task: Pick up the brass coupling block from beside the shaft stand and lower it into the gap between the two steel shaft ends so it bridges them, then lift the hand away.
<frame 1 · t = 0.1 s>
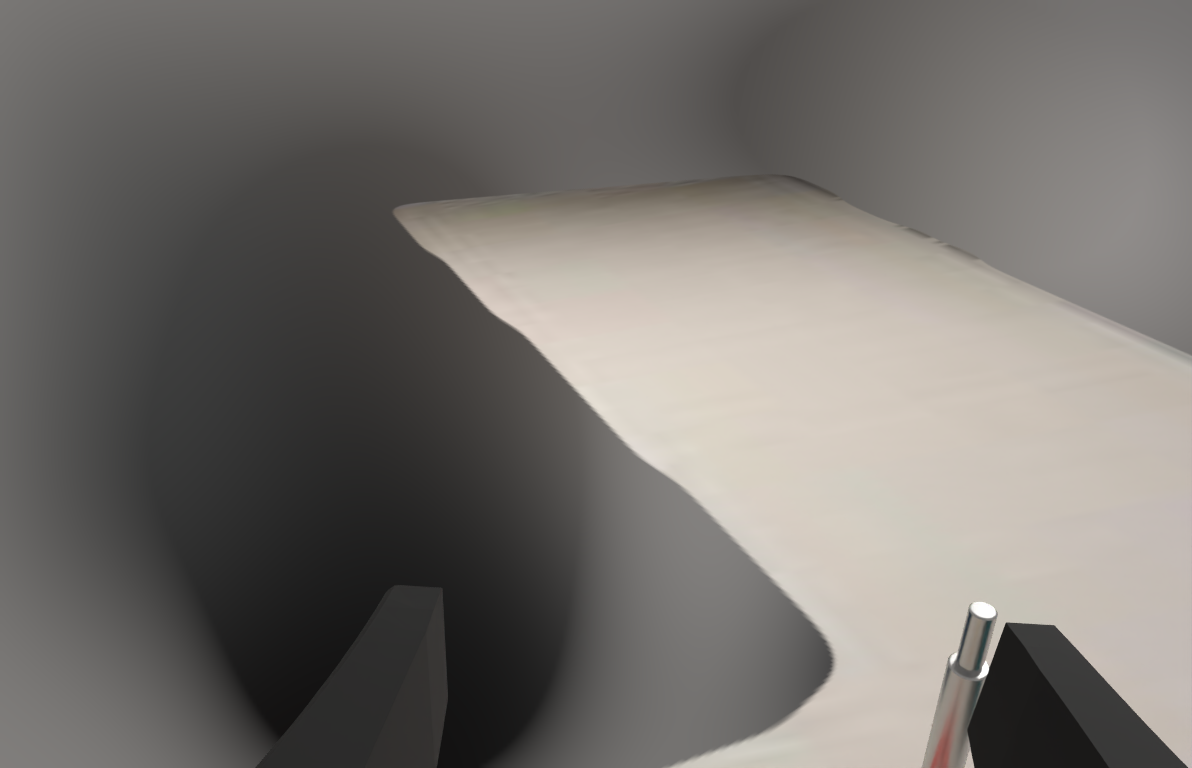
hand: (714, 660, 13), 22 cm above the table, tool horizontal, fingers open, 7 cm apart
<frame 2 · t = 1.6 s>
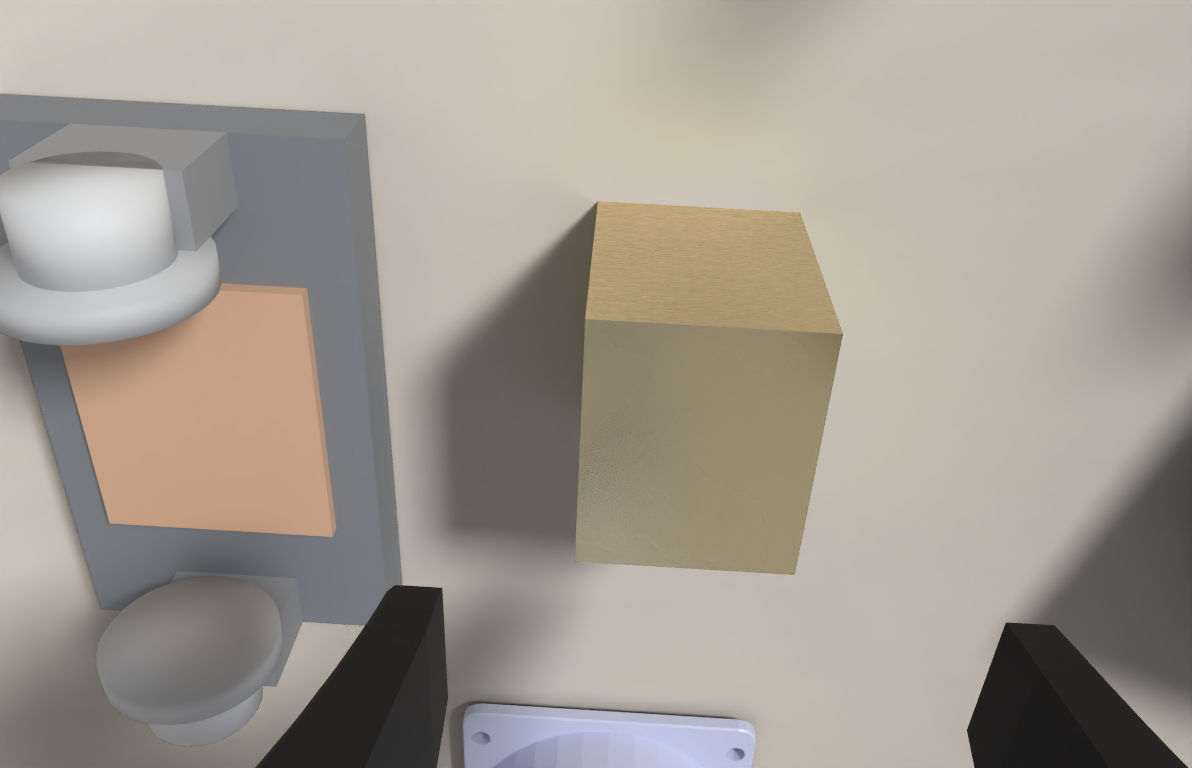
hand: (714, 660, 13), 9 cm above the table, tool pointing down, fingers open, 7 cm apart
shaft stand: (229, 373, 22), on the table
coupling block: (687, 317, 21), on the table
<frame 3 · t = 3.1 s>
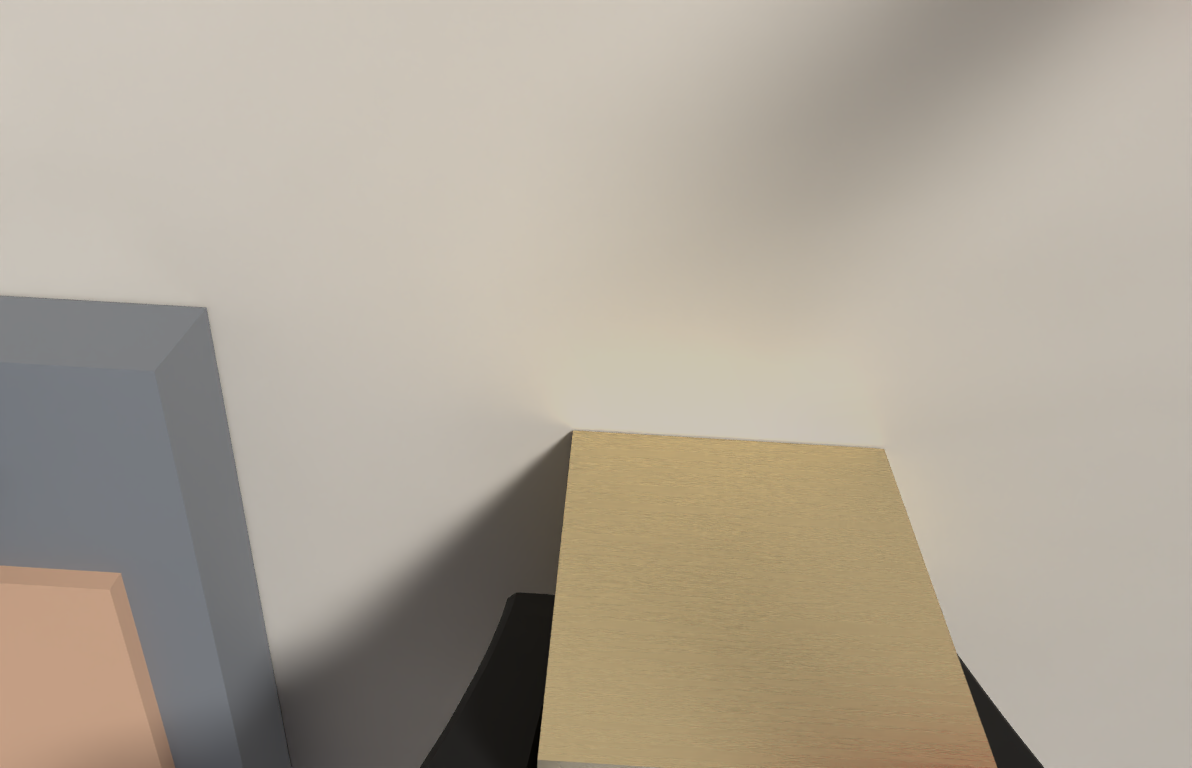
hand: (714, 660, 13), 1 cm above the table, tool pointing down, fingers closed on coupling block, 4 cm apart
shaft stand: (43, 642, 15), on the table
coupling block: (708, 584, 14), on the table, touching gripper
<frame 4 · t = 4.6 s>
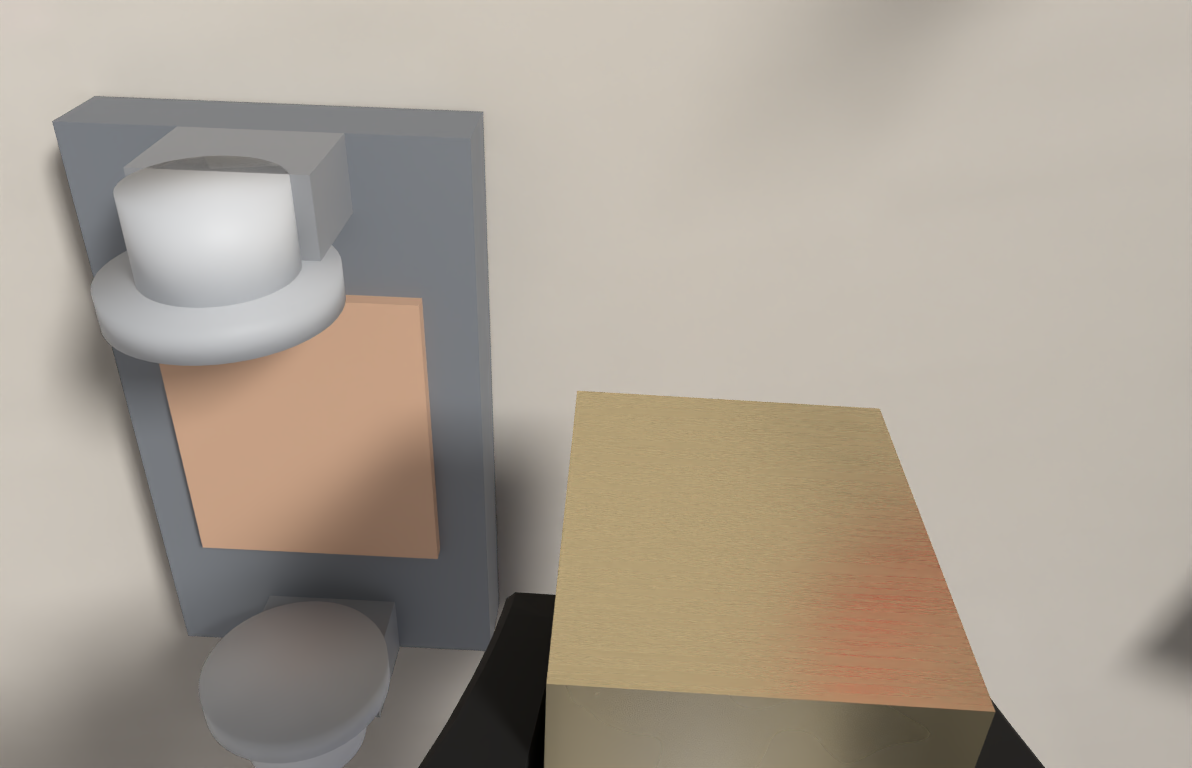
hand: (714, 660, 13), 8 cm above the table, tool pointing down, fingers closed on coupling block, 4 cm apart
shaft stand: (326, 388, 21), on the table
coupling block: (708, 545, 14), point 6 cm above the table, touching gripper
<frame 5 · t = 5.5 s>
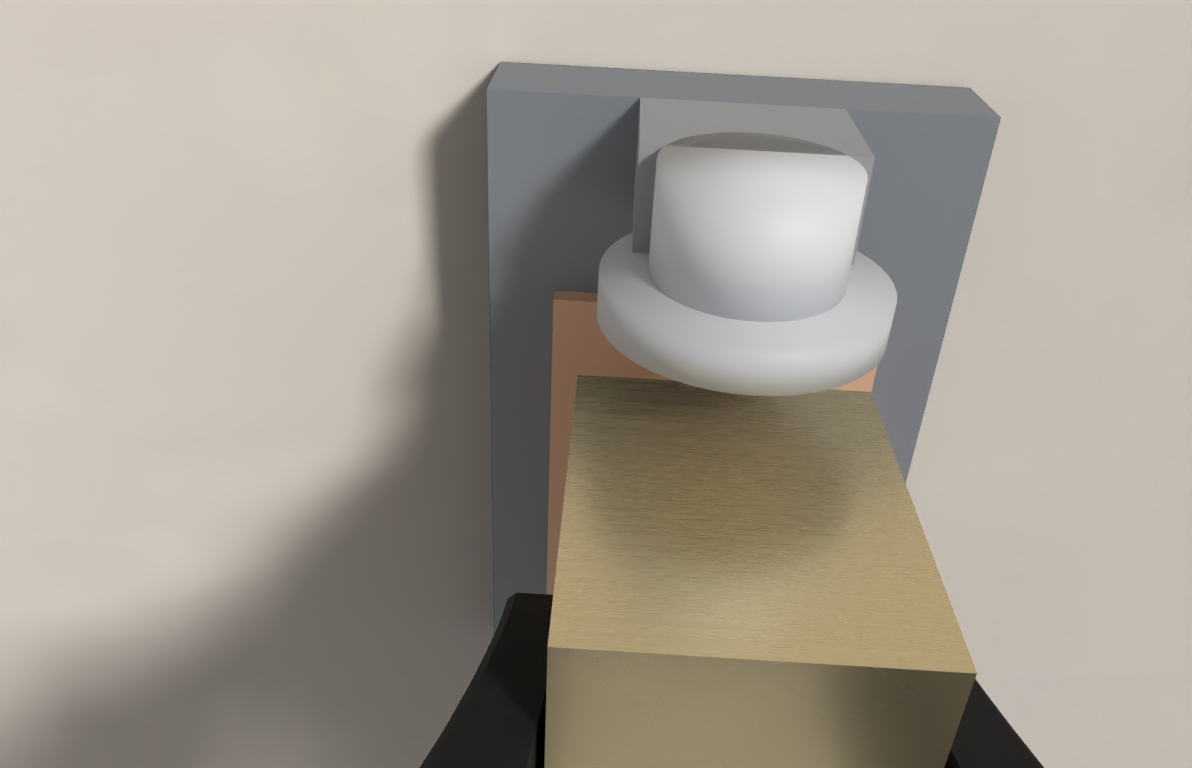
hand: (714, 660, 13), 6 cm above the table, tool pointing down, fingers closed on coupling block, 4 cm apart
shaft stand: (695, 411, 18), on the table
coupling block: (705, 526, 15), point 4 cm above the table, touching gripper
when the fingers open (5 cm above the table, at t = 6.1 s): coupling block stays where it is, resting on shaft stand.
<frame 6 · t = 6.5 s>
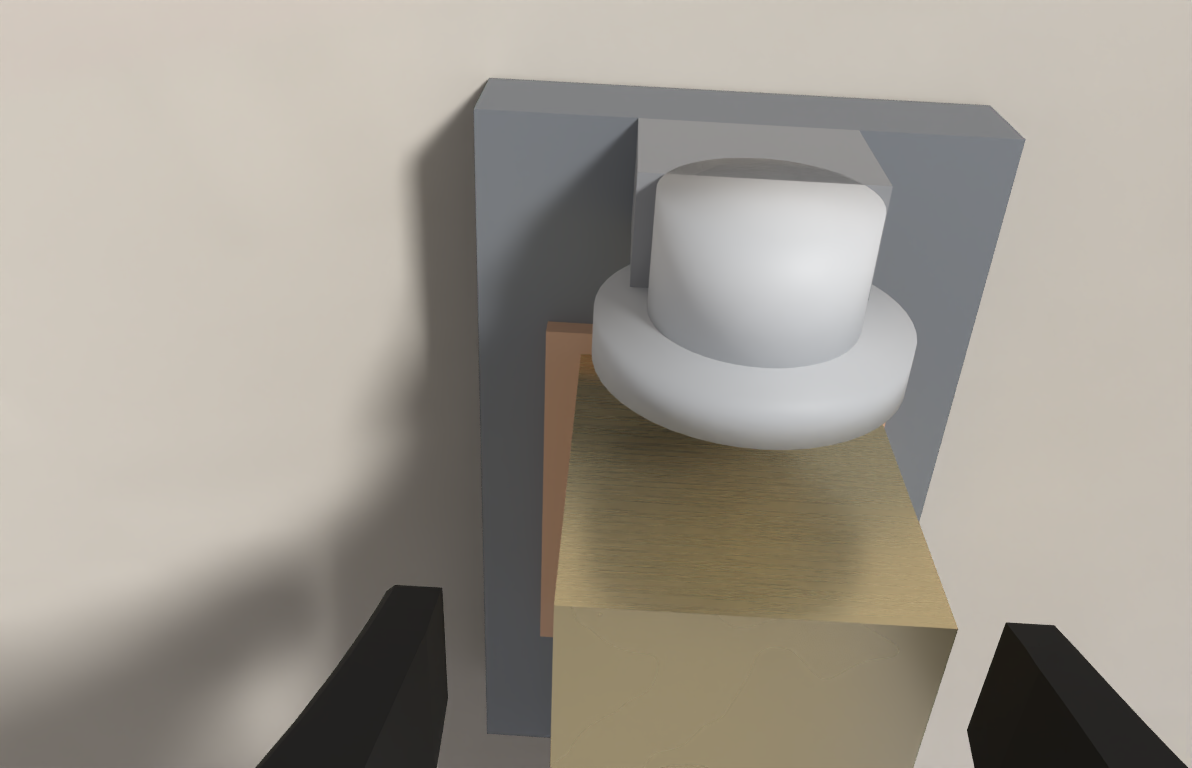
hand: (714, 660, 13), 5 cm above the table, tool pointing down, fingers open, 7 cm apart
shaft stand: (697, 442, 17), on the table
coupling block: (704, 500, 15), point 2 cm above the table, touching shaft stand
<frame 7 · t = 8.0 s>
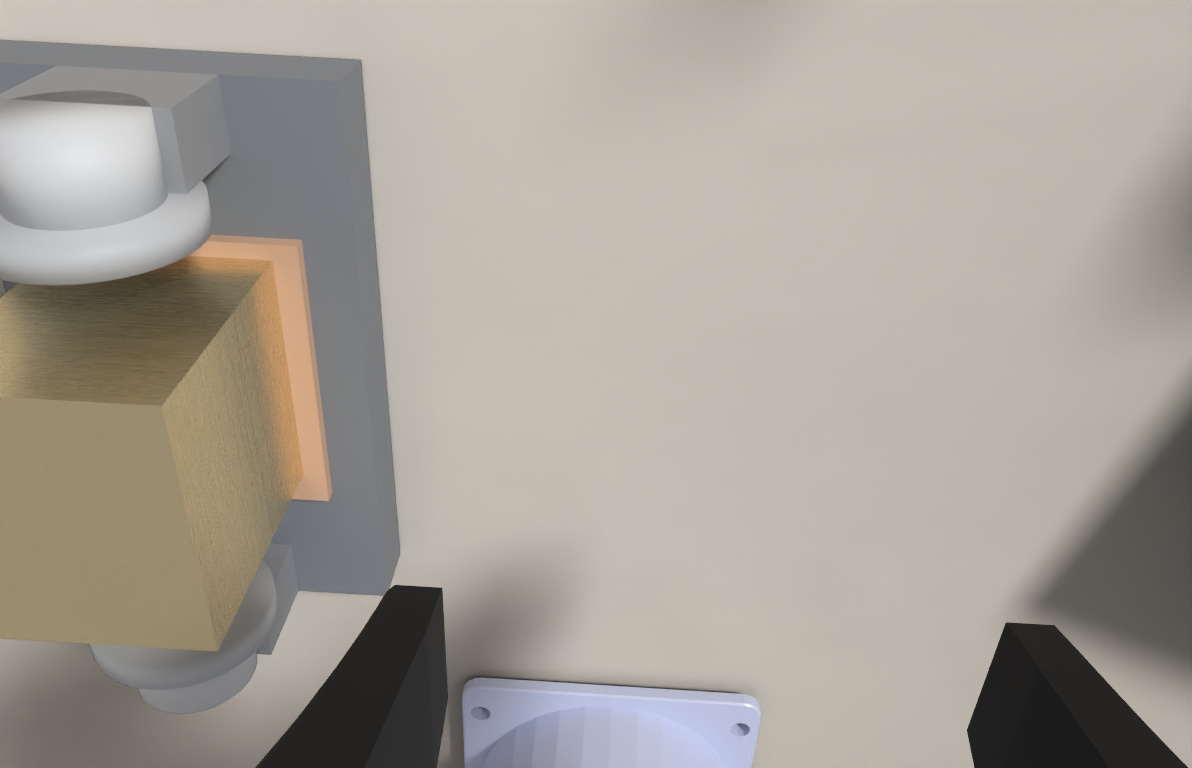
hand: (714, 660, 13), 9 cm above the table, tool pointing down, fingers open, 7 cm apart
shaft stand: (222, 333, 21), on the table
coupling block: (189, 369, 20), point 2 cm above the table, touching shaft stand
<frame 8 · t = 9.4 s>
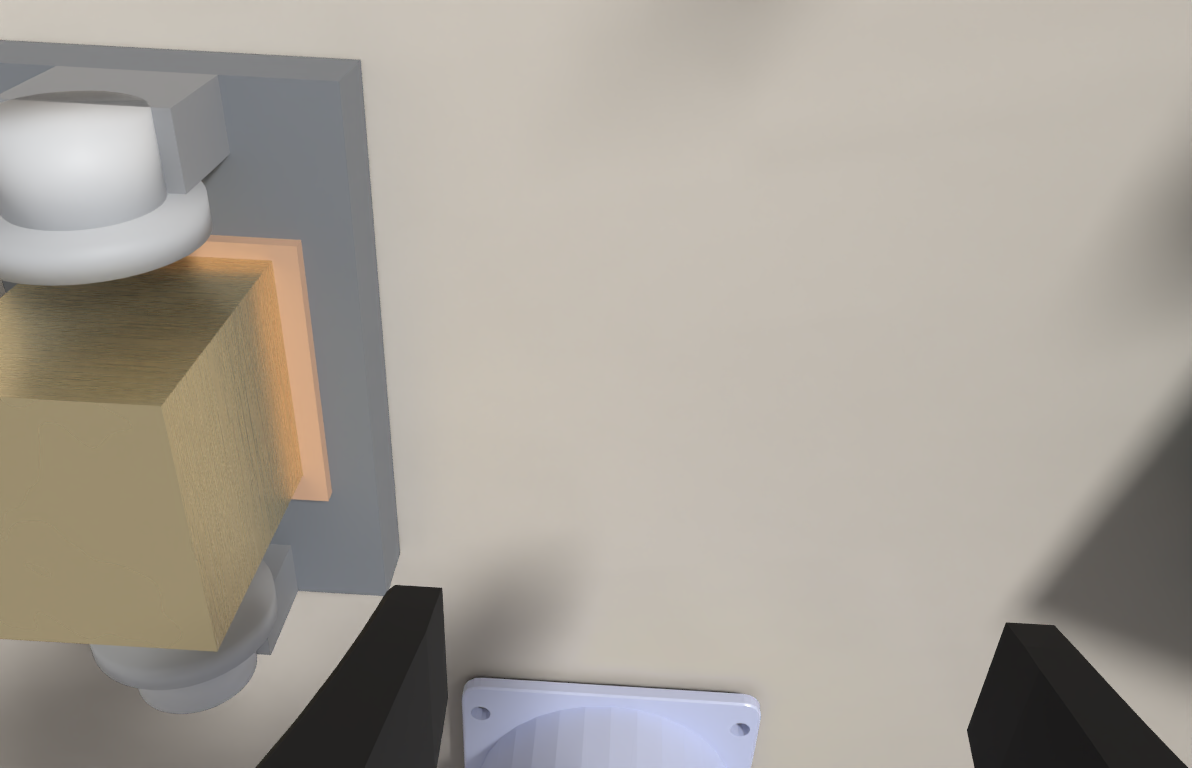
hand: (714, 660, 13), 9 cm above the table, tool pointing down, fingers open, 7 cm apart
shaft stand: (222, 333, 21), on the table
coupling block: (189, 369, 20), point 2 cm above the table, touching shaft stand
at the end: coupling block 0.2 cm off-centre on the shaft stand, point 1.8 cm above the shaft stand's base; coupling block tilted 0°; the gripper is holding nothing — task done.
